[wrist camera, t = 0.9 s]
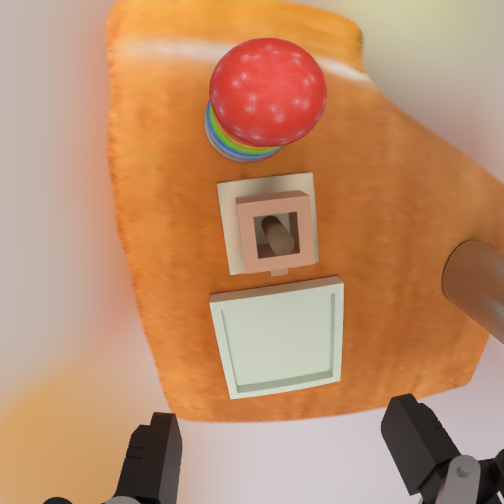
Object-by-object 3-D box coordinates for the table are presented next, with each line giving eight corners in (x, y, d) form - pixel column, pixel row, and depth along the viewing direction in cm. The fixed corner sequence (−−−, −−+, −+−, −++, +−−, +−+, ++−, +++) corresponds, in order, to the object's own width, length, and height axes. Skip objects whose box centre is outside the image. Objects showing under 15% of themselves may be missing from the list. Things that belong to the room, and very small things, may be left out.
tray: (337, 275, 33) (343, 282, 31) (335, 371, 37) (340, 380, 35) (210, 294, 32) (209, 302, 30) (230, 388, 37) (230, 399, 35)
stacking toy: (191, 103, 26) (137, 27, 8) (268, 72, 26) (325, -30, 8) (224, 175, 29) (220, 207, 11) (300, 144, 28) (405, 133, 10)
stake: (308, 171, 29) (336, 178, 21) (314, 257, 32) (340, 288, 24) (217, 182, 29) (213, 192, 21) (230, 269, 32) (231, 305, 24)
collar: (298, 189, 28) (309, 195, 24) (304, 259, 30) (315, 274, 26) (235, 197, 28) (236, 204, 24) (244, 268, 30) (247, 284, 26)
